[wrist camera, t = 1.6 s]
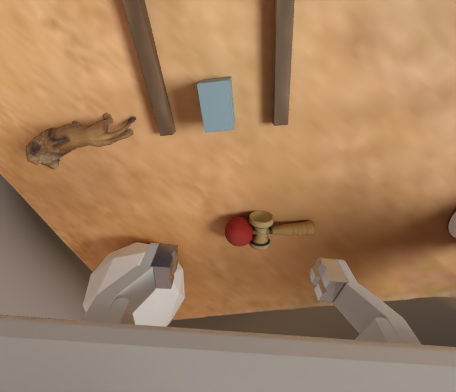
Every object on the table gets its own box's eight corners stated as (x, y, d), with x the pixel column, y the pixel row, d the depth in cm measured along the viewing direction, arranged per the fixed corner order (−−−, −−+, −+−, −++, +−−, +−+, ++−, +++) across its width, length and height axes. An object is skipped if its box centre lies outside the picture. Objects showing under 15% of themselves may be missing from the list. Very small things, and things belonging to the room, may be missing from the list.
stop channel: (295, -87, 22) (304, -114, 18) (285, 121, 33) (290, 128, 30) (114, -53, 24) (93, -71, 20) (164, 132, 35) (156, 140, 32)
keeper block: (231, 76, 30) (229, 80, 25) (234, 119, 33) (233, 130, 28) (204, 79, 31) (196, 83, 26) (210, 121, 34) (204, 132, 29)
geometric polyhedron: (155, 221, 55) (127, 229, 36) (203, 277, 56) (202, 316, 36) (95, 269, 53) (30, 307, 33) (147, 327, 54) (113, 399, 34)
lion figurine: (76, 154, 38) (36, 178, 31) (55, 126, 36) (5, 145, 28) (144, 131, 35) (118, 150, 28) (127, 98, 33) (93, 110, 25)
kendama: (310, 201, 43) (223, 208, 42) (323, 226, 38) (225, 234, 37) (302, 225, 48) (224, 231, 47) (312, 249, 44) (226, 256, 43)
